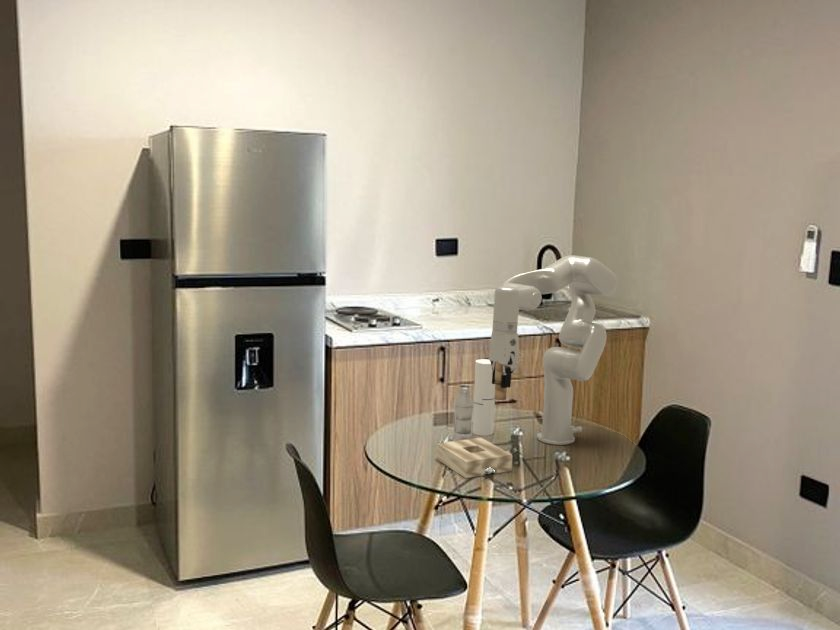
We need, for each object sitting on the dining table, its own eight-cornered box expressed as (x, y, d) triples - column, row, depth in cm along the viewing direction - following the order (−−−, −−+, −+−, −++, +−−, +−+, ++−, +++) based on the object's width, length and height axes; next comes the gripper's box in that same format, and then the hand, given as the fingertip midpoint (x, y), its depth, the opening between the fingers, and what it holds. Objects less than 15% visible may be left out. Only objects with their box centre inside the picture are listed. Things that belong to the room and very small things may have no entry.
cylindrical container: (493, 436, 290) (497, 364, 286) (472, 435, 291) (476, 363, 286) (492, 429, 297) (495, 359, 293) (472, 428, 298) (475, 358, 293)
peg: (502, 396, 266) (504, 358, 264) (509, 399, 262) (512, 361, 261) (490, 397, 264) (492, 359, 262) (498, 400, 260) (500, 362, 259)
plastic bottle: (456, 449, 275) (458, 389, 271) (449, 443, 281) (452, 384, 278) (475, 448, 277) (477, 388, 273) (468, 442, 283) (470, 383, 280)
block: (480, 452, 273) (481, 437, 272) (511, 470, 257) (512, 454, 256) (436, 459, 265) (436, 443, 265) (465, 478, 250) (466, 461, 249)
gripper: (531, 331, 254) (526, 391, 257) (500, 322, 269) (496, 378, 272) (510, 332, 251) (506, 392, 254) (479, 322, 266) (476, 380, 268)
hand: (501, 384), depth 263 cm, fingers closed on peg, 4 cm apart
